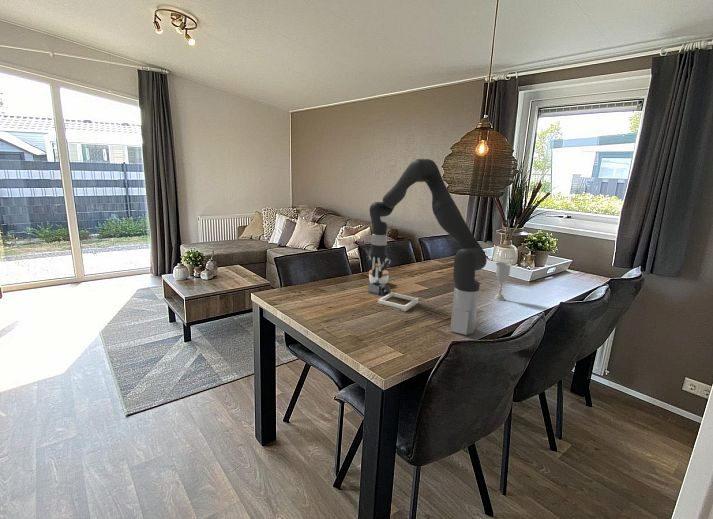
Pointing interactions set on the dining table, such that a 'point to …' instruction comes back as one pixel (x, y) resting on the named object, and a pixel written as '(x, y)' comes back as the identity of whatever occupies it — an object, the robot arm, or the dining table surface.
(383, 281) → the lidded jar
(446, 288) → the dining table surface
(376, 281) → the pin
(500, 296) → the chalice
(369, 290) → the block
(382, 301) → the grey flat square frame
